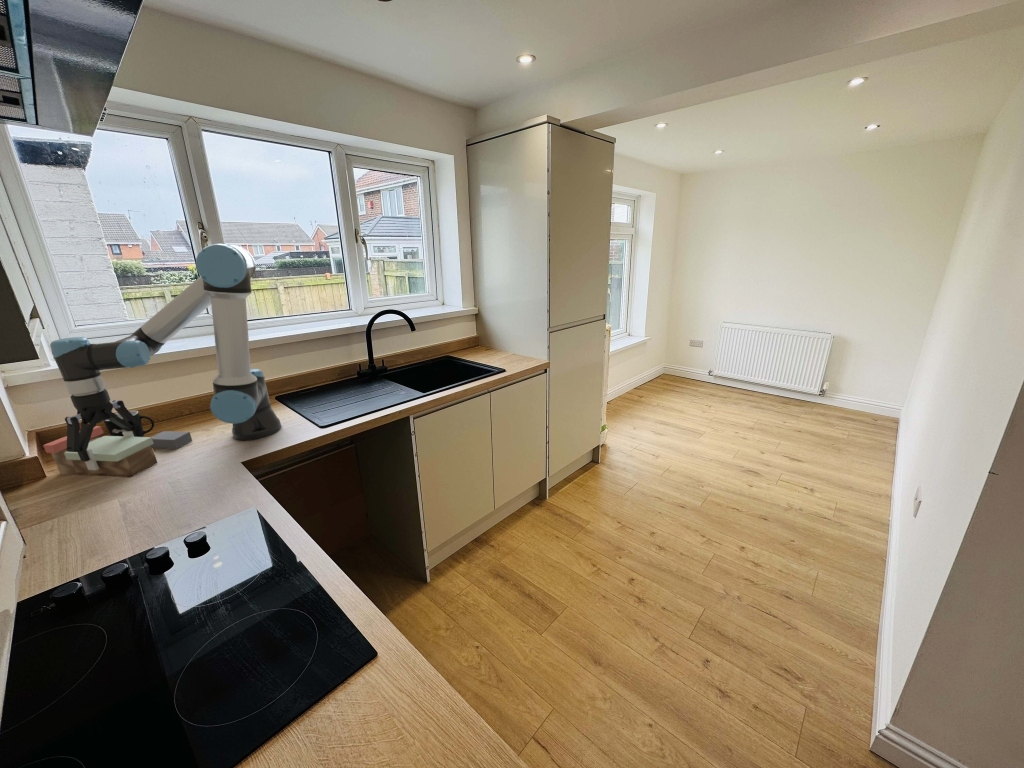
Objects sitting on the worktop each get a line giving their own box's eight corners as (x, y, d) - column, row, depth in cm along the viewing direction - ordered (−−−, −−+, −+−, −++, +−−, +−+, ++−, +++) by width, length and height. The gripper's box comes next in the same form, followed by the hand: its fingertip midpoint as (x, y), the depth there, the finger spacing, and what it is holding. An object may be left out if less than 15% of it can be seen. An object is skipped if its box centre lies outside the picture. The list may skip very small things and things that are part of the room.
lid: (153, 443, 125) (151, 437, 125) (117, 461, 115) (114, 454, 114) (106, 442, 127) (104, 435, 127) (66, 459, 117) (63, 452, 116)
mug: (111, 450, 135) (100, 423, 132) (115, 441, 142) (105, 414, 139) (157, 440, 142) (148, 413, 138) (159, 431, 149) (150, 406, 145)
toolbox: (157, 462, 126) (149, 439, 123) (130, 477, 118) (121, 452, 116) (91, 460, 129) (81, 437, 126) (60, 474, 121) (49, 449, 118)
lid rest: (192, 441, 140) (189, 431, 139) (177, 449, 135) (173, 439, 133) (166, 440, 141) (163, 431, 140) (150, 448, 136) (147, 438, 135)
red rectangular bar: (103, 433, 128) (100, 426, 127) (55, 453, 115) (51, 445, 115) (95, 433, 128) (92, 425, 127) (46, 452, 116) (42, 445, 115)
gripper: (119, 378, 126) (141, 441, 134) (25, 406, 104) (59, 479, 112) (140, 379, 126) (161, 441, 133) (50, 407, 104) (82, 481, 111)
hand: (114, 459), depth 122 cm, fingers closed on lid, 11 cm apart
